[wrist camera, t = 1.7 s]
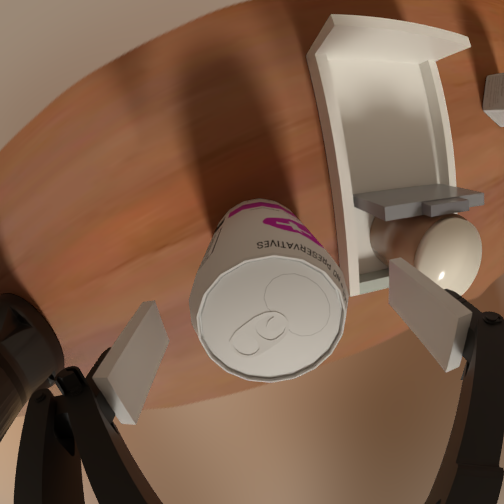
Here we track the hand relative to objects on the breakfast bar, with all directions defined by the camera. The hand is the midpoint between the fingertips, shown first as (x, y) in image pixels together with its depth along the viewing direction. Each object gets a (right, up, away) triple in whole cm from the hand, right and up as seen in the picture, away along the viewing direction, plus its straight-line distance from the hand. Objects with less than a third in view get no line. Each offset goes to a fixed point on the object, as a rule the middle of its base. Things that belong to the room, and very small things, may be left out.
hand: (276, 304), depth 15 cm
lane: (+12, +11, +10) cm, 19 cm away
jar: (+13, +5, +11) cm, 18 cm away
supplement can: (-1, +4, +12) cm, 13 cm away
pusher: (+13, +8, +9) cm, 18 cm away
